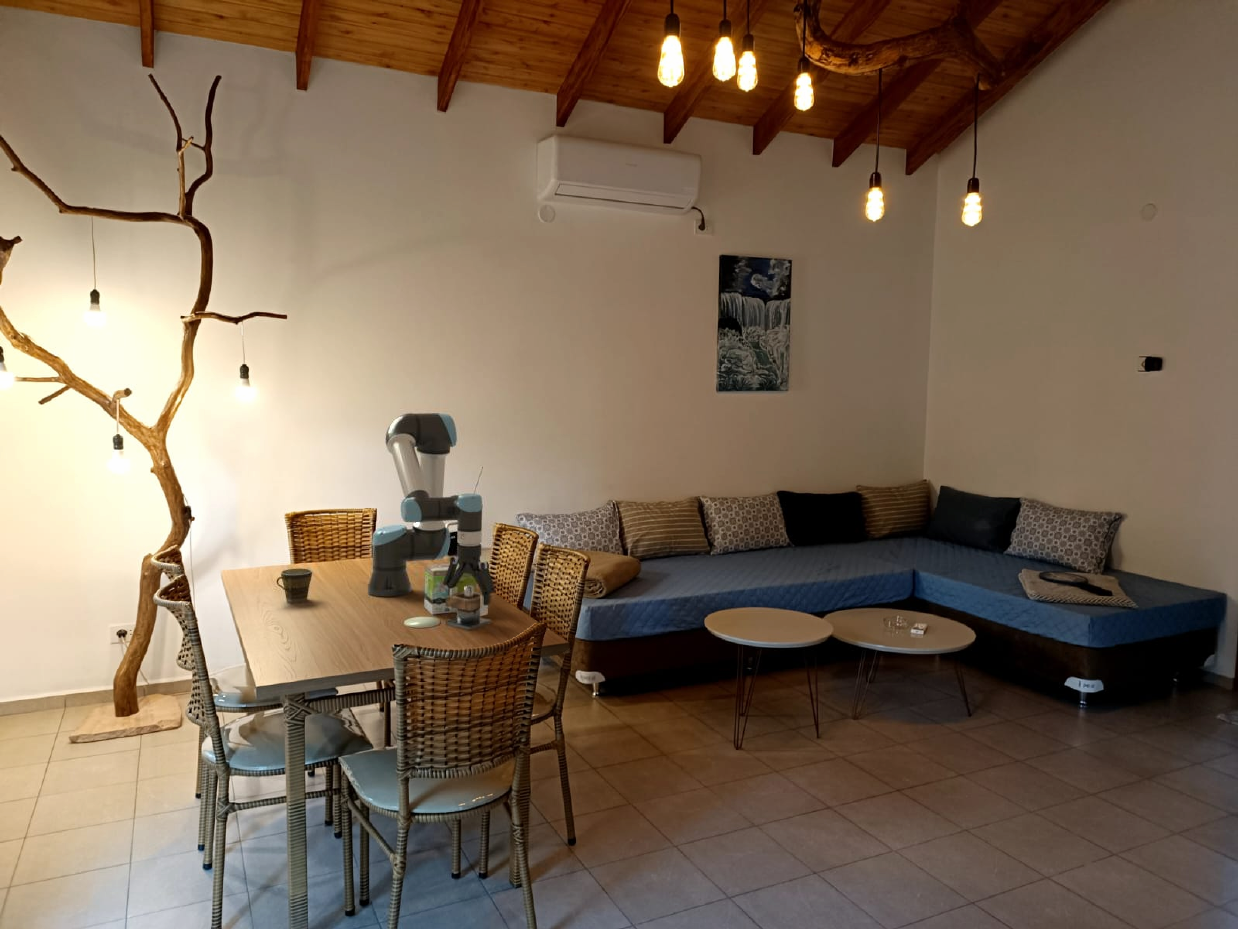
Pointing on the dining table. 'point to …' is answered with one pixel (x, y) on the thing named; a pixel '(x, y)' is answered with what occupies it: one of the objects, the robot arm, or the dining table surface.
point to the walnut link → (464, 601)
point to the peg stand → (468, 615)
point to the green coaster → (422, 622)
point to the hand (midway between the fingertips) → (468, 611)
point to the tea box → (442, 588)
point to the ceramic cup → (296, 584)
